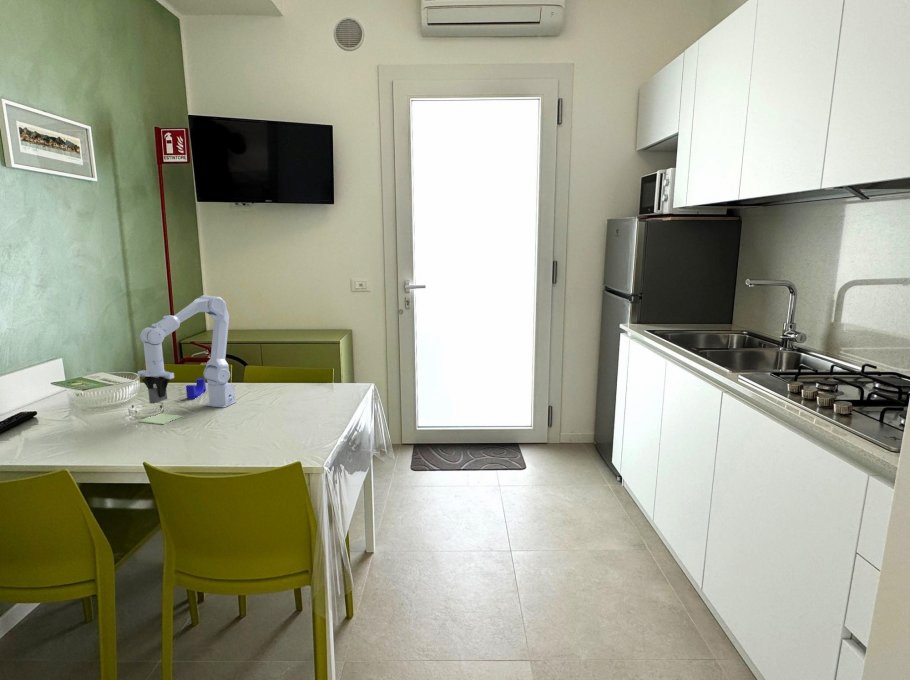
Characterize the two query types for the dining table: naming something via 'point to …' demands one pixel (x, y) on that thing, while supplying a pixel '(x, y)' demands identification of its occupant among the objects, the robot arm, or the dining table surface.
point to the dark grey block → (155, 395)
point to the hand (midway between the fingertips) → (158, 396)
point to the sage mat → (160, 419)
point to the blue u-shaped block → (196, 389)
